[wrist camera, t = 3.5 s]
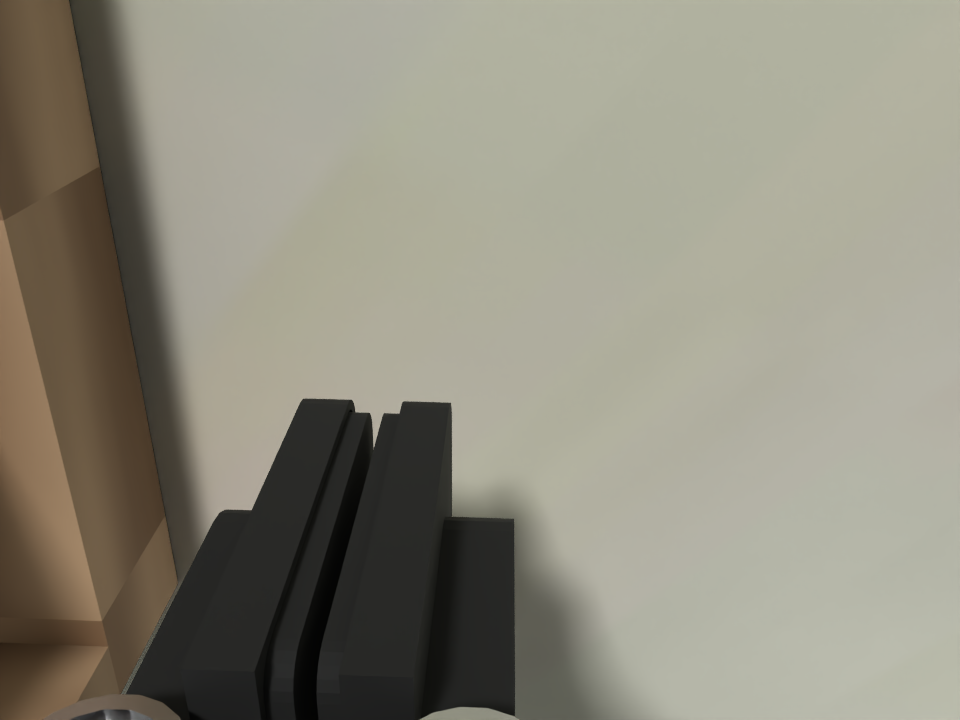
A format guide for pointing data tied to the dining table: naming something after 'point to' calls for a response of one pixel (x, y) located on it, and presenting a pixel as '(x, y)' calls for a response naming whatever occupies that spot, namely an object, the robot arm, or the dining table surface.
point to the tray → (66, 397)
